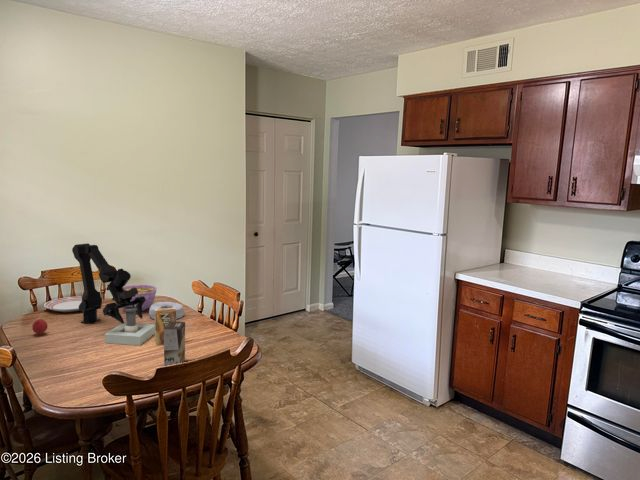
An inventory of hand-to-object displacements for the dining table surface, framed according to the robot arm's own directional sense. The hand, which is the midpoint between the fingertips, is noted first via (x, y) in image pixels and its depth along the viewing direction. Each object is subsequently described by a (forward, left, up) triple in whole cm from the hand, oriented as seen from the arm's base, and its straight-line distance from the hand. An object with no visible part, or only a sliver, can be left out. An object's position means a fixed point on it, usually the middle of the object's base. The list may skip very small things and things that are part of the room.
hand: (132, 320), depth 200 cm
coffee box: (+22, +29, -9) cm, 37 cm away
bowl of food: (-41, -18, -9) cm, 45 cm away
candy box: (+1, +16, -9) cm, 18 cm away
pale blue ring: (-34, +1, -9) cm, 35 cm away
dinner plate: (-38, -53, -9) cm, 66 cm away
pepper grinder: (-1, -1, -8) cm, 9 cm away
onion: (+3, -42, -9) cm, 43 cm away
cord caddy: (-1, -1, -8) cm, 9 cm away
